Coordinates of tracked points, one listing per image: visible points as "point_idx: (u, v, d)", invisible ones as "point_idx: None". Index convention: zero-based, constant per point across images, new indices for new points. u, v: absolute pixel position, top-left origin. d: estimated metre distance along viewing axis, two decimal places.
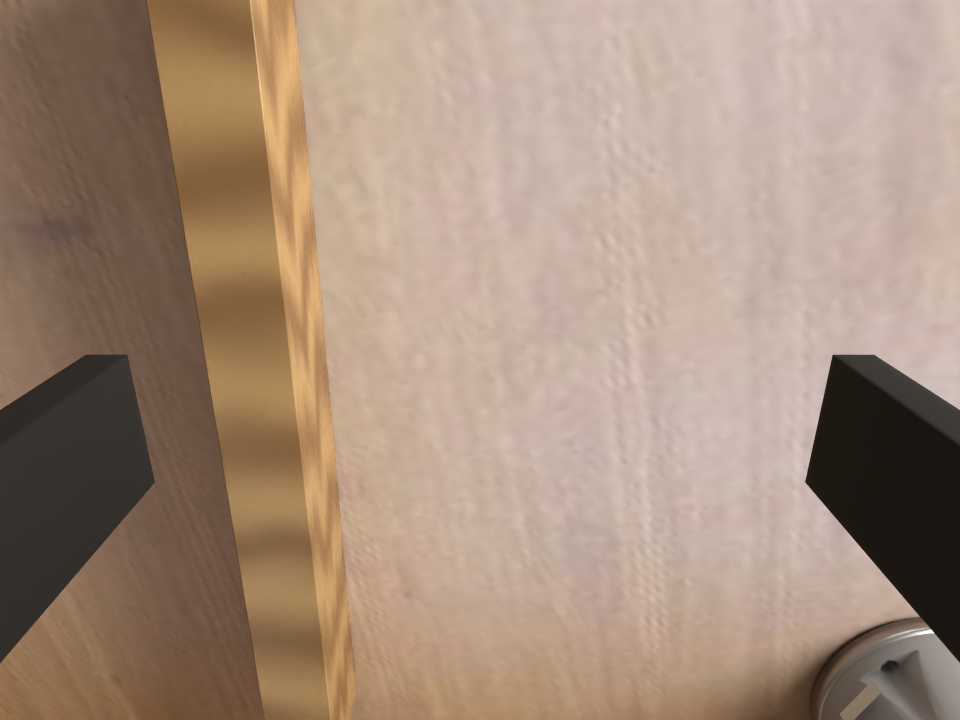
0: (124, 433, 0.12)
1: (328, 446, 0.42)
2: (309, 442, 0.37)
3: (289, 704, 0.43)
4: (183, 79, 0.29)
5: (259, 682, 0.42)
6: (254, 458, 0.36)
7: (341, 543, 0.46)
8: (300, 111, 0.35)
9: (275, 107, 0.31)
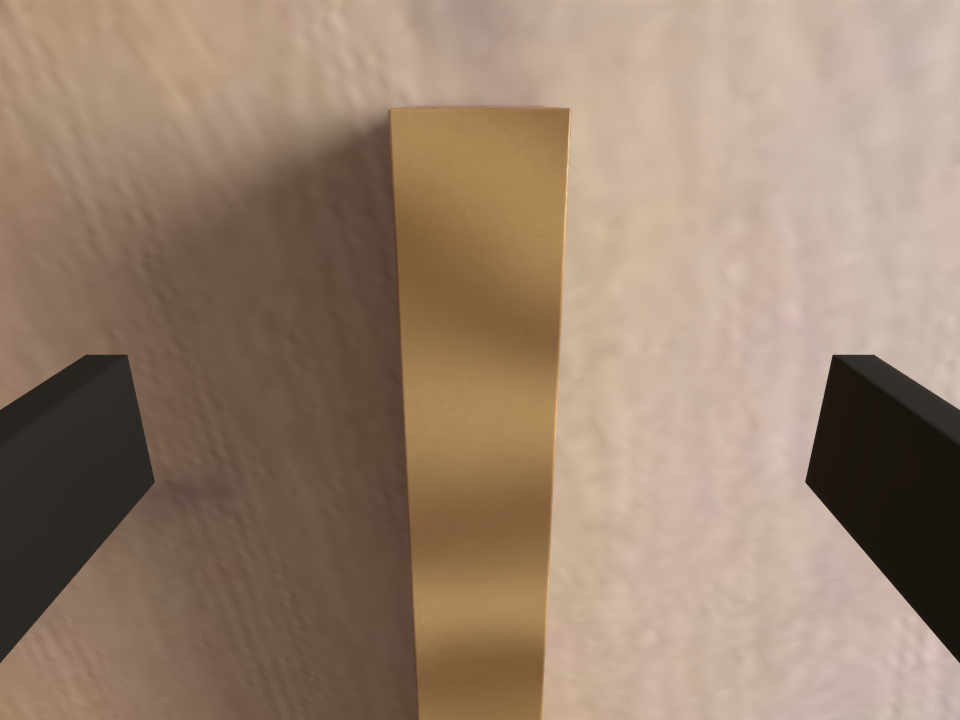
0: (124, 433, 0.12)
1: None
2: None
3: None
4: (440, 397, 0.19)
5: None
6: None
7: None
8: None
9: None
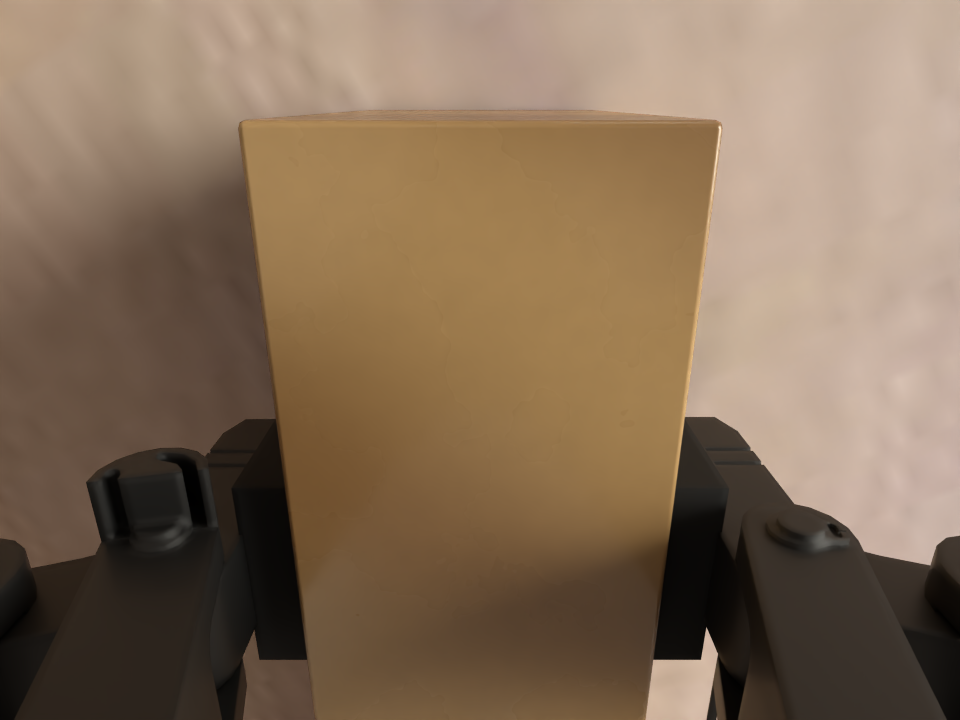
0: None
1: None
2: None
3: None
4: None
5: None
6: None
7: None
8: None
9: None
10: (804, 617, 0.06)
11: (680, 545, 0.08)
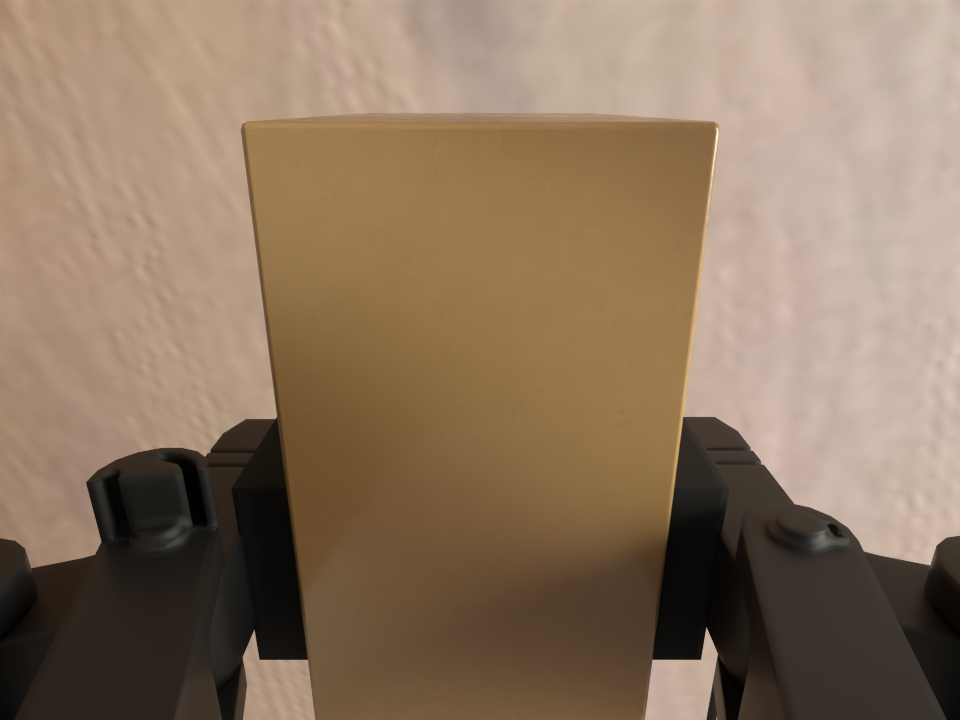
0: None
1: None
2: None
3: None
4: None
5: None
6: None
7: None
8: None
9: None
10: (804, 617, 0.06)
11: (681, 545, 0.08)
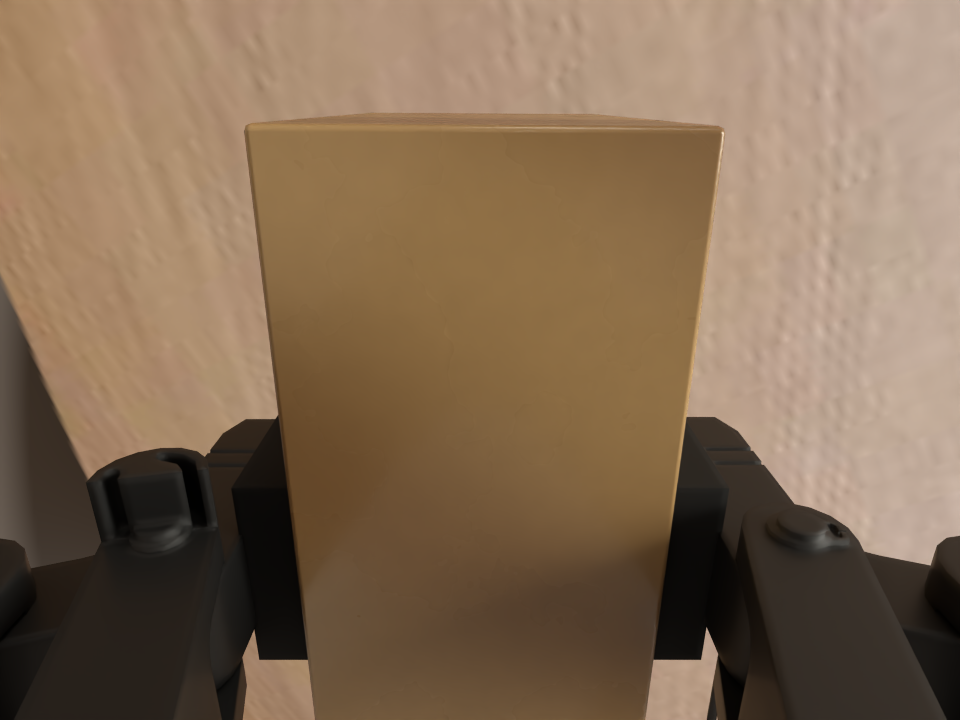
0: None
1: None
2: None
3: None
4: None
5: None
6: None
7: None
8: None
9: None
10: (804, 617, 0.06)
11: (681, 545, 0.08)
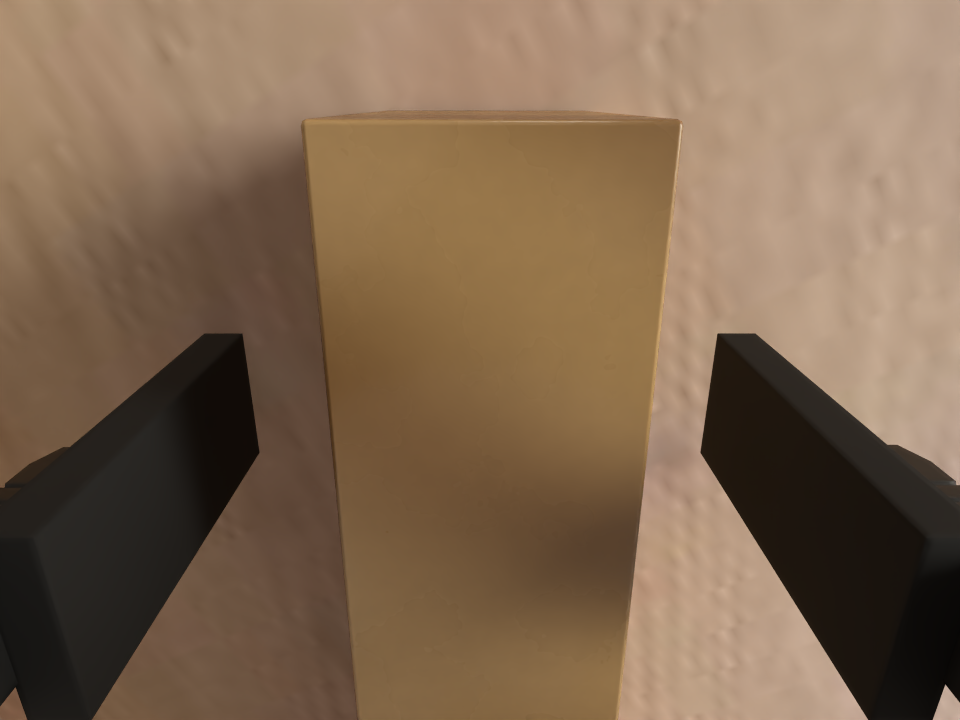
0: (240, 405, 0.13)
1: None
2: None
3: None
4: (417, 636, 0.10)
5: None
6: None
7: None
8: None
9: None
10: None
11: (931, 599, 0.07)
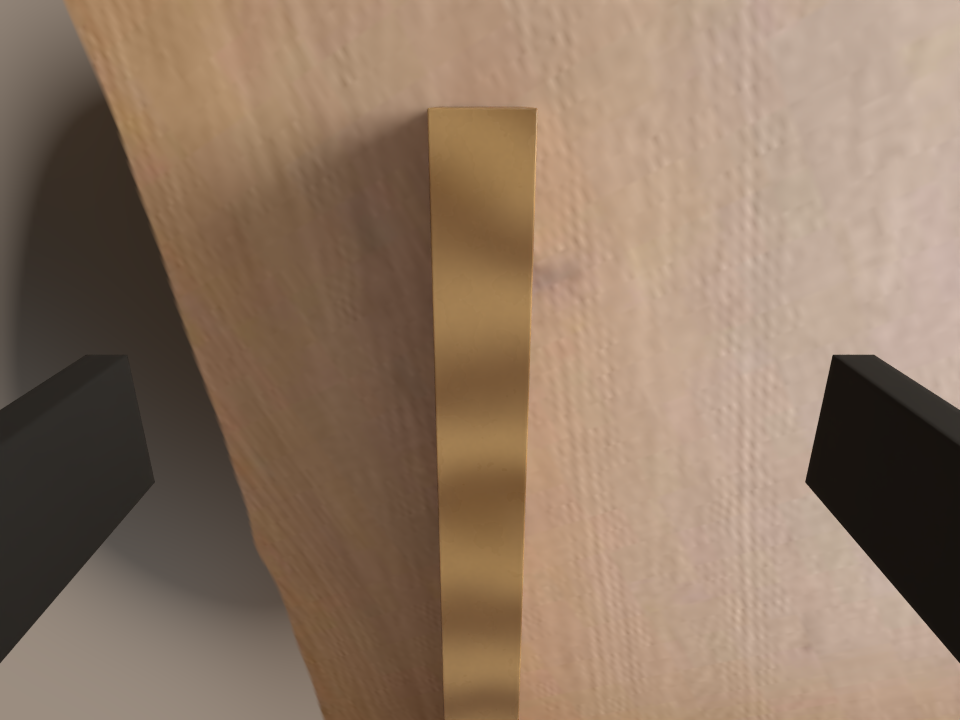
0: (124, 433, 0.12)
1: None
2: None
3: None
4: (456, 293, 0.29)
5: None
6: (474, 627, 0.36)
7: None
8: None
9: None
10: None
11: None
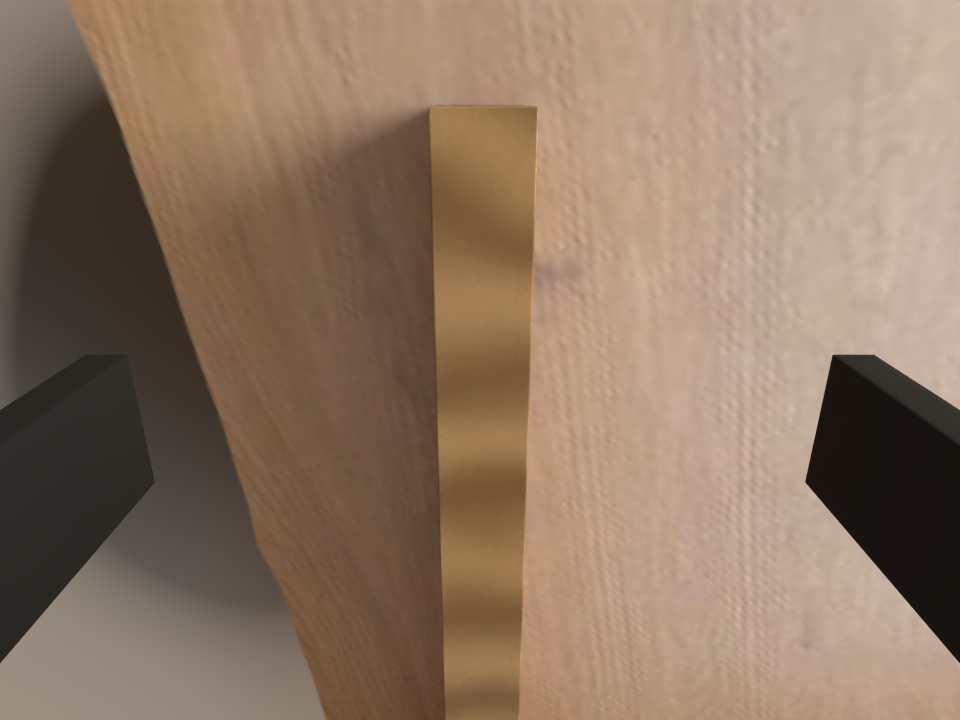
0: (124, 433, 0.12)
1: None
2: None
3: None
4: (457, 291, 0.29)
5: None
6: (475, 624, 0.36)
7: None
8: None
9: None
10: None
11: None
